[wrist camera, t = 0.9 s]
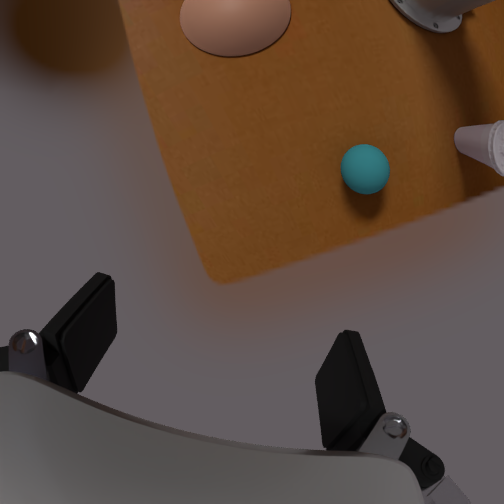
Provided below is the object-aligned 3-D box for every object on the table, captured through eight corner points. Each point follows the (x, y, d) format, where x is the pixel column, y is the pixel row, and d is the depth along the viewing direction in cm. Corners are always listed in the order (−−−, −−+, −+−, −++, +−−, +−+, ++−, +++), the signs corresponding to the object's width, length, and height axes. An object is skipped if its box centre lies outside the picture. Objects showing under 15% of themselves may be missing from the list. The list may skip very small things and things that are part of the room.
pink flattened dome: (245, -42, 20) (245, -42, 20) (313, 20, 24) (313, 19, 24) (160, 12, 24) (160, 11, 24) (222, 77, 28) (222, 76, 28)
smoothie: (480, 162, 29) (549, 187, 16) (448, 164, 29) (519, 189, 17) (477, 118, 26) (548, 127, 13) (443, 116, 27) (518, 121, 14)
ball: (364, 134, 29) (381, 136, 24) (386, 173, 31) (406, 182, 26) (326, 158, 31) (337, 164, 26) (351, 197, 33) (365, 209, 28)
